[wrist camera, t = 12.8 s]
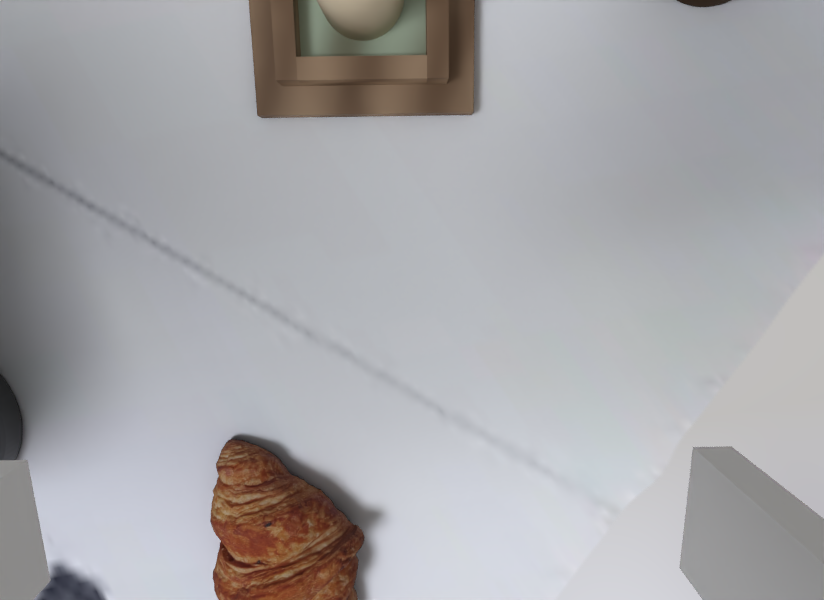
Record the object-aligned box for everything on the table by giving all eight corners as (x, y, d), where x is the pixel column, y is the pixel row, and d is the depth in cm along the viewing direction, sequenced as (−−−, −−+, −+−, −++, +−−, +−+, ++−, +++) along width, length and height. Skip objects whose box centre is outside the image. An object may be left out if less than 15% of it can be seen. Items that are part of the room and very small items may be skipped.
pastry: (175, 567, 47) (128, 641, 39) (233, 428, 44) (195, 478, 36) (341, 628, 49) (329, 712, 41) (408, 498, 46) (408, 561, 38)
